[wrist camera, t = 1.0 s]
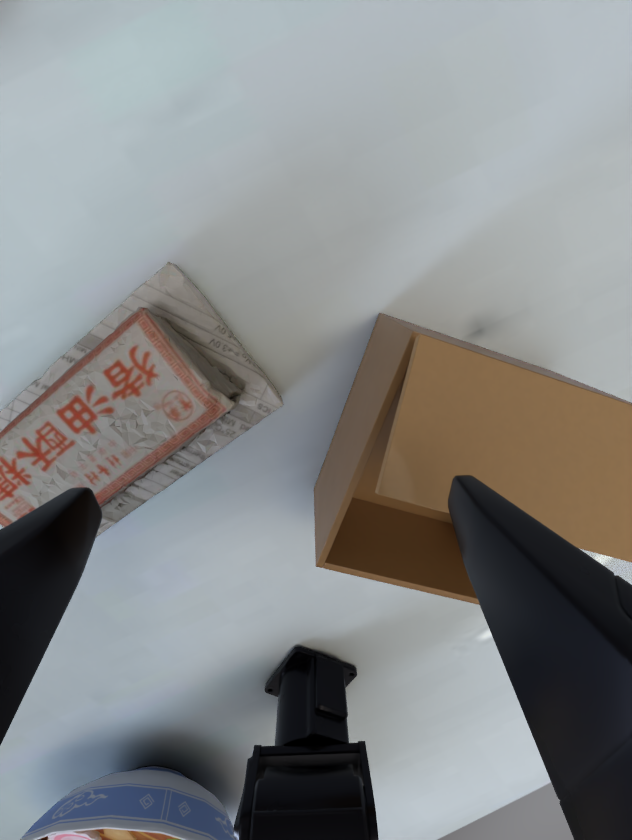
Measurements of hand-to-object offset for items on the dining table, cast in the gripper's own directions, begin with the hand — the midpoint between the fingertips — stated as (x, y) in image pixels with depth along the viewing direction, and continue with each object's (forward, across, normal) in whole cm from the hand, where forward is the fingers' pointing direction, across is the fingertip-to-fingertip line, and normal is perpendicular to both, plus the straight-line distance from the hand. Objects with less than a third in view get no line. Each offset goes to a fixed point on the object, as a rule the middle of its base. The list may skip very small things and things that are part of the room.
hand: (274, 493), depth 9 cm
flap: (+5, -10, +3) cm, 11 cm away
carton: (+13, -9, +7) cm, 17 cm away
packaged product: (+14, +11, +6) cm, 18 cm away
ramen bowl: (+7, +18, +49) cm, 52 cm away
